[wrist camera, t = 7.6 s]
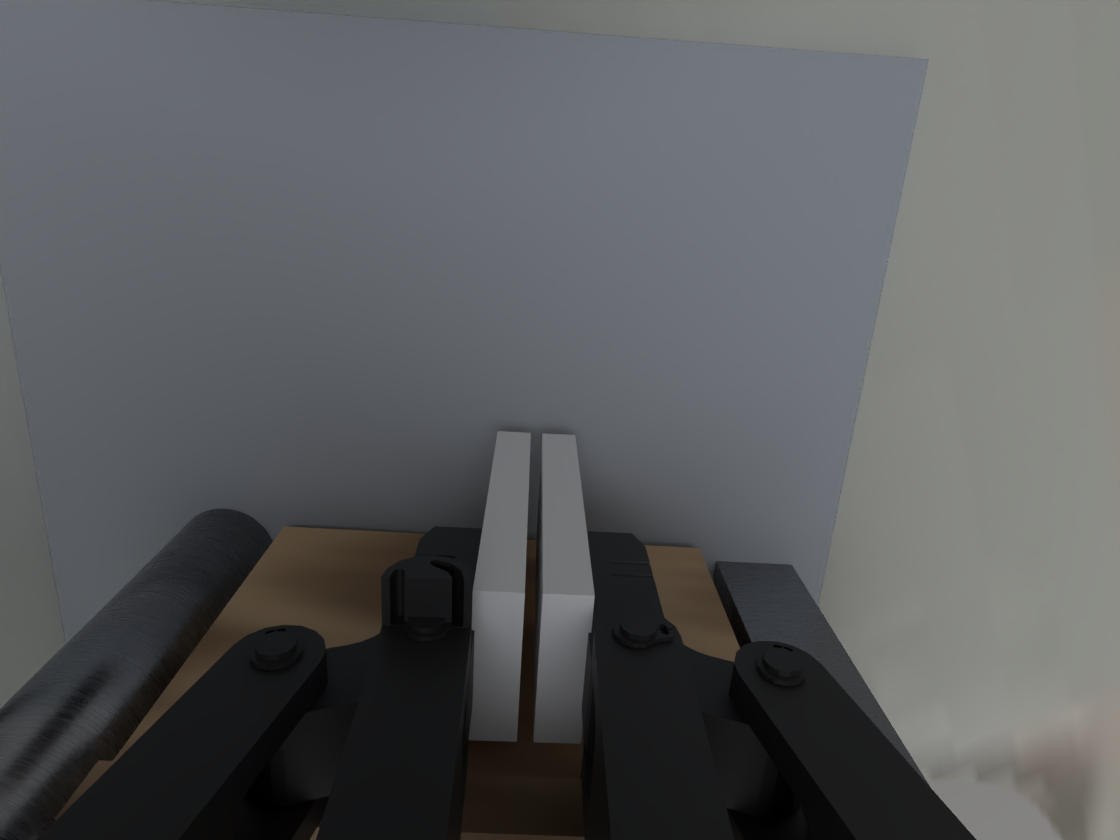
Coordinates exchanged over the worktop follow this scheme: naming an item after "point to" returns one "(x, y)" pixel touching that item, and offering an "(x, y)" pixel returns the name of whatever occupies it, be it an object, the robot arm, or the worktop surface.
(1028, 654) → the worktop surface
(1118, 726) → the worktop surface
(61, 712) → the hinge post
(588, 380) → the mat
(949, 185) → the worktop surface
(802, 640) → the post
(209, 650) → the wooden post block
